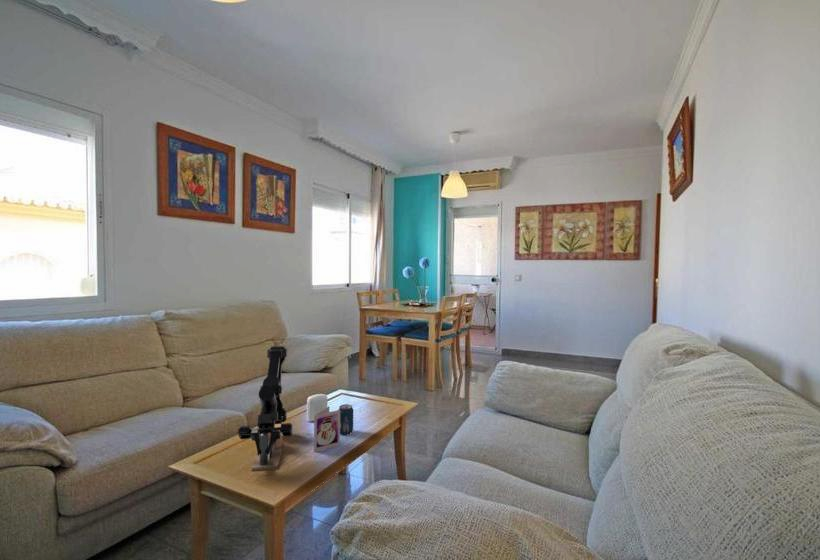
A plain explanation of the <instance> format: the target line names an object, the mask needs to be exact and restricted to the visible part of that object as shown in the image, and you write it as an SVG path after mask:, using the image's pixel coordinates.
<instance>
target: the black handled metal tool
mask: <svg viewBox="0 0 820 560" xmlns="http://www.w3.org/2000/svg"><path fill="white" fill-rule="evenodd" d="M259 436H260V465H261V466H262V467H265V466H267V464H268V460H269V457H270V454H271V451H270V453H269V455H268V454H267V452H268V433H267V432H264V433H261V434H260V435H259ZM271 450H272V449H271Z"/></svg>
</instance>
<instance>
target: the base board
mask: <svg viewBox="0 0 820 560" xmlns="http://www.w3.org/2000/svg"><path fill="white" fill-rule="evenodd" d="M283 447H284V441H282V445H281V447H279V448H276V449H275V453H274V456H273V458H271V459H269V460H268V464H267V466H265V467H262V466H261V465H260V455H259V456H258V452H257V453H256V455H255V458H254V460H253V463H252V466H251V471H262V470H264V471H265V470H272V469H273V470H274V469H278V467H279V463H280V460H281V456H282V451H283Z"/></svg>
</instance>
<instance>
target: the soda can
mask: <svg viewBox="0 0 820 560" xmlns="http://www.w3.org/2000/svg"><path fill="white" fill-rule="evenodd" d="M338 410H340V434H342V435H341V436H348V435H347V434H349V435H351V434H352V433H353V431H354V408H353V405H351V404H347V403H346V404H341V405H339V408H338ZM350 433H351V434H350Z"/></svg>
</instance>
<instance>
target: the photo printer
mask: <svg viewBox="0 0 820 560" xmlns="http://www.w3.org/2000/svg"><path fill="white" fill-rule="evenodd" d="M328 400H329V399H328V395H327V394H324V393H318V394H316V393H315V394H313V395H310V396H308V397H307V400H306V422H314V415H316V414H317V413H319V412H321V411H322V410H324V409H325V408H327V407H328Z"/></svg>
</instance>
